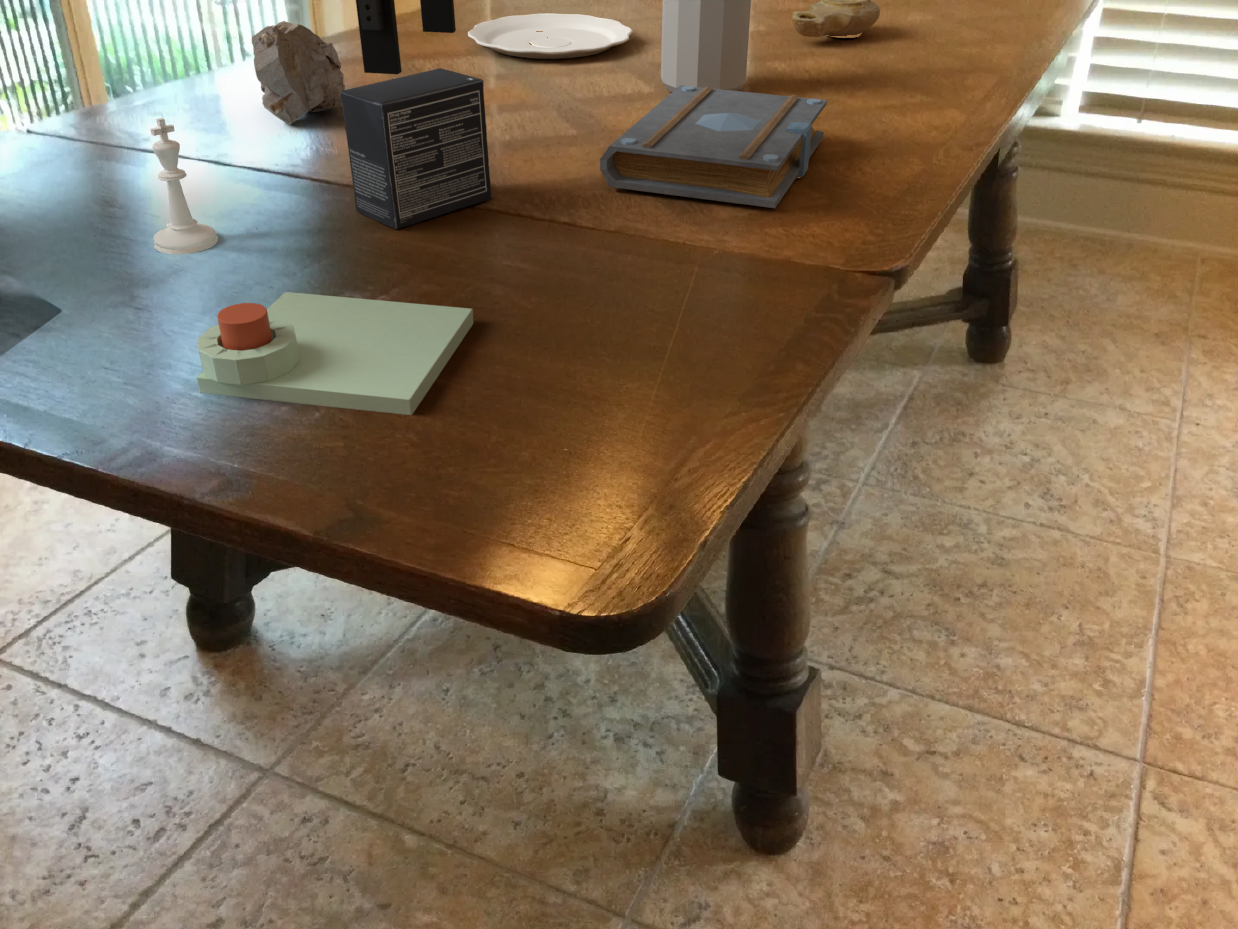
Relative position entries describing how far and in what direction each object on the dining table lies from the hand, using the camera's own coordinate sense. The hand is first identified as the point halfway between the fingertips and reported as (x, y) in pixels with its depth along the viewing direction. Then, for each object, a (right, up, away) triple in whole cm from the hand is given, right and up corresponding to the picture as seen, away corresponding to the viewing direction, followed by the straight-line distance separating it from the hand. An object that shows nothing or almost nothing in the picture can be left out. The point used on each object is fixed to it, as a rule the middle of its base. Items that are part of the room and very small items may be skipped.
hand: (412, 51), depth 94 cm
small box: (0, -11, +7) cm, 13 cm away
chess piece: (-18, -16, 0) cm, 24 cm away
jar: (+26, +9, +39) cm, 48 cm away
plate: (+8, +21, +56) cm, 60 cm away
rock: (-17, +3, +29) cm, 34 cm away
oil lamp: (+45, +23, +60) cm, 78 cm away
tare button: (-7, -26, -21) cm, 34 cm away
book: (+26, -5, +17) cm, 32 cm away
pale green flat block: (-2, -26, -17) cm, 31 cm away
